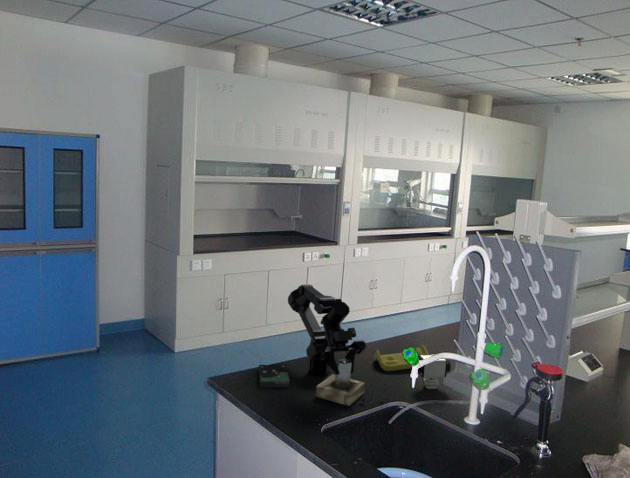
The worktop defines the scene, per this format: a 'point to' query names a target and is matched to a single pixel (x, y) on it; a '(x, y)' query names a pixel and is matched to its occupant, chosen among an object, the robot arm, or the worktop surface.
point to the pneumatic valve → (433, 371)
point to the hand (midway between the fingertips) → (345, 373)
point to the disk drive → (274, 376)
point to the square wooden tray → (340, 391)
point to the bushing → (343, 374)
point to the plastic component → (396, 359)
